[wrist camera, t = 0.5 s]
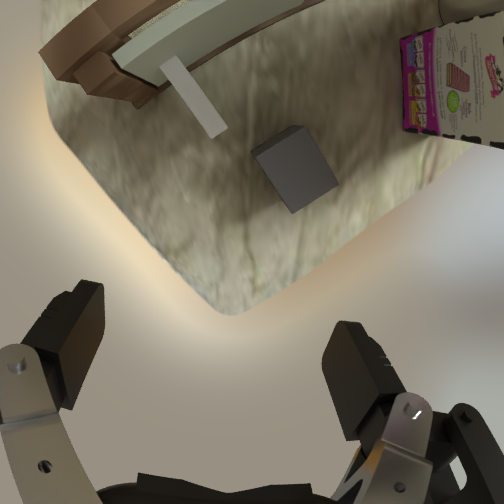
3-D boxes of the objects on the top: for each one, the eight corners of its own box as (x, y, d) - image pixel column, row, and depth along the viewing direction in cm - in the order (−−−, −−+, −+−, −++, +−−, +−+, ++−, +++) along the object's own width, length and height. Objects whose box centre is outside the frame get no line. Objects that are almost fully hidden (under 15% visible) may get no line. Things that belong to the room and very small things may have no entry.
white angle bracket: (294, -5, 24) (332, -59, 13) (339, 61, 27) (401, 37, 16) (151, 77, 26) (111, 54, 15) (200, 144, 29) (187, 159, 18)
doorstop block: (292, 124, 30) (305, 126, 26) (322, 174, 32) (339, 184, 28) (250, 151, 31) (255, 157, 26) (282, 200, 33) (292, 214, 29)
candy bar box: (435, 135, 31) (544, 161, 16) (401, 131, 31) (511, 154, 16) (433, 45, 27) (539, 30, 12) (398, 36, 27) (502, 7, 12)
